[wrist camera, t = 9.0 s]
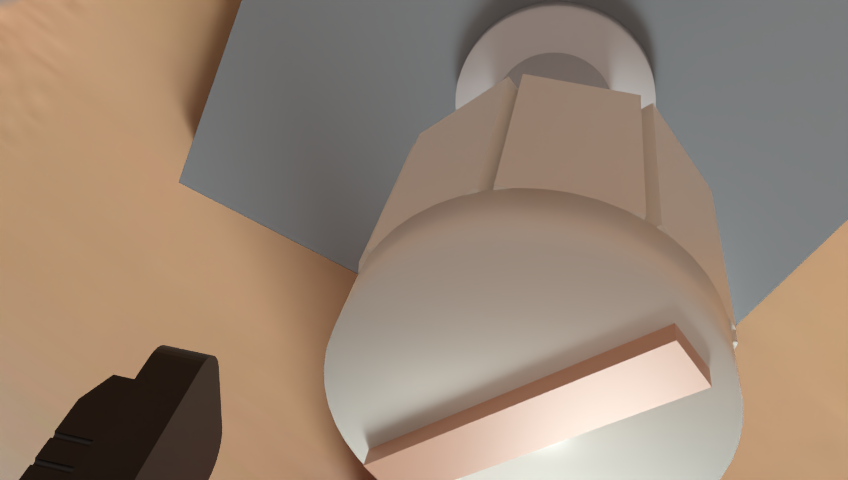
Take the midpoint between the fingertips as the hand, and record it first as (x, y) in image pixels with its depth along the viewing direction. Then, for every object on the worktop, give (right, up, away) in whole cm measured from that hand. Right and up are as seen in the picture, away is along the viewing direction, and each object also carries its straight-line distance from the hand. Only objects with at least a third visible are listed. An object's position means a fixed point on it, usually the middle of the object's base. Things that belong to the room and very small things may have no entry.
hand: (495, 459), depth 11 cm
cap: (+1, +3, +3) cm, 5 cm away
